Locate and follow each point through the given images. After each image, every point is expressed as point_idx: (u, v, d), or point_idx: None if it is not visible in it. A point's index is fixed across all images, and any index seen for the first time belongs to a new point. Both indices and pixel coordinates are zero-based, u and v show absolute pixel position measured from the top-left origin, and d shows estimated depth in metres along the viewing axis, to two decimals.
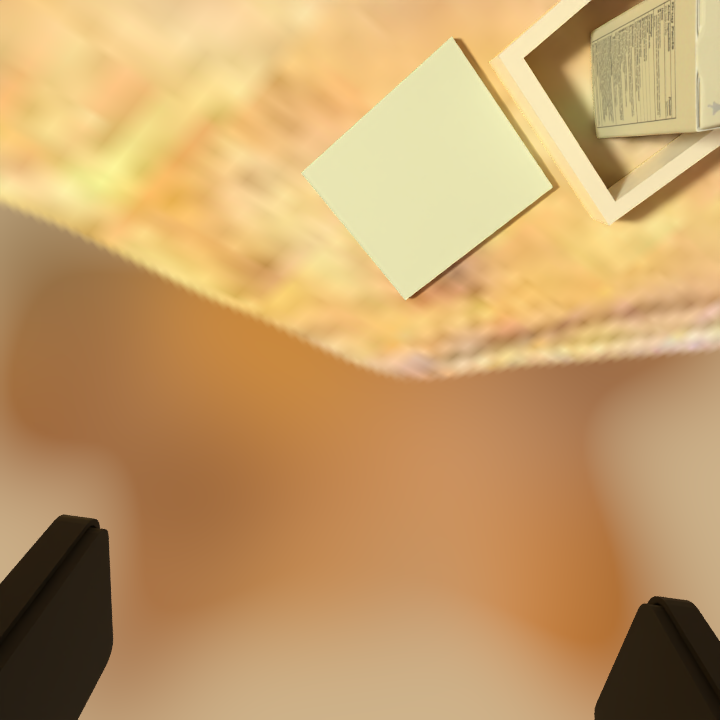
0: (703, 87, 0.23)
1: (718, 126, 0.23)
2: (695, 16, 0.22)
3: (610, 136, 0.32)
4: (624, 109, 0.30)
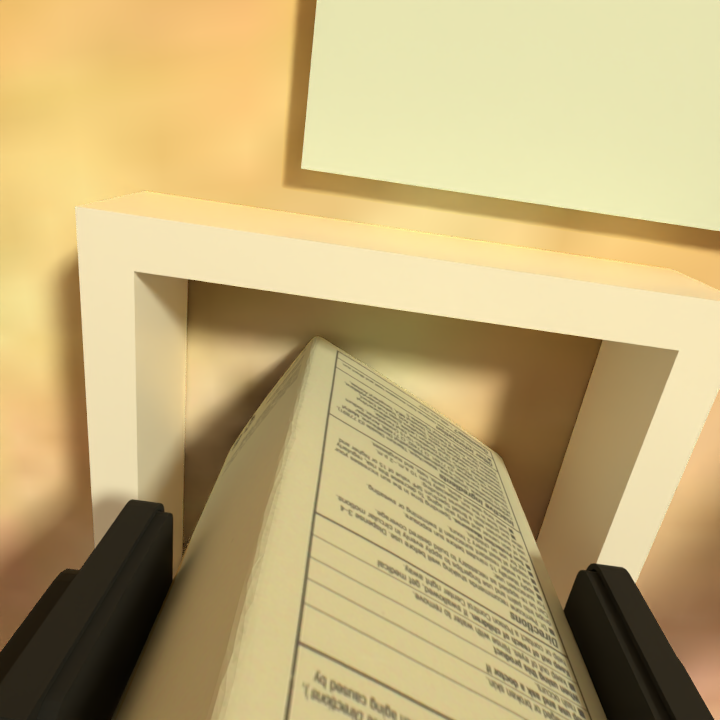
0: None
1: None
2: None
3: (307, 374, 0.11)
4: (361, 474, 0.09)
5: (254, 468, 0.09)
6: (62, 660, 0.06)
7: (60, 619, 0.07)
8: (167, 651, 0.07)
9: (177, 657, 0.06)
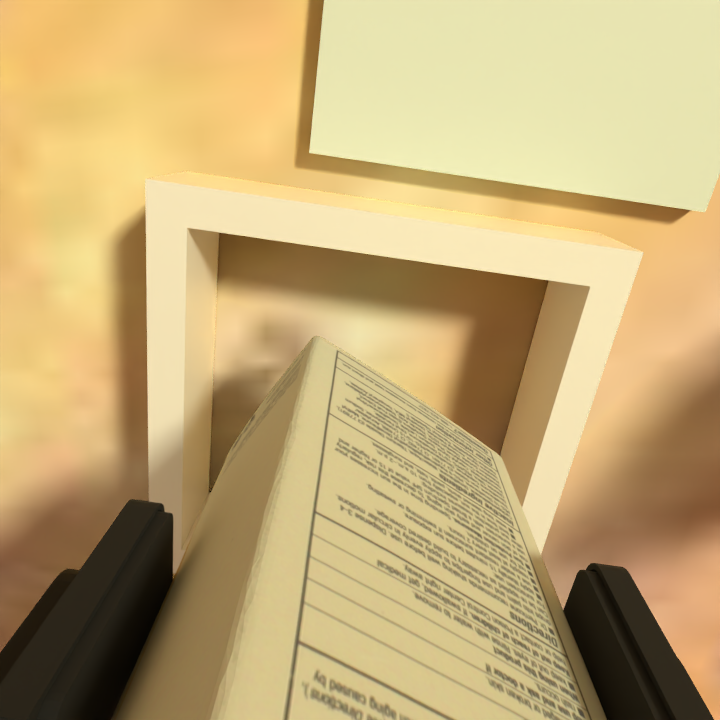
0: None
1: None
2: None
3: (307, 374, 0.11)
4: (360, 473, 0.09)
5: (254, 468, 0.09)
6: (63, 660, 0.06)
7: (60, 619, 0.07)
8: (167, 650, 0.07)
9: (177, 656, 0.06)
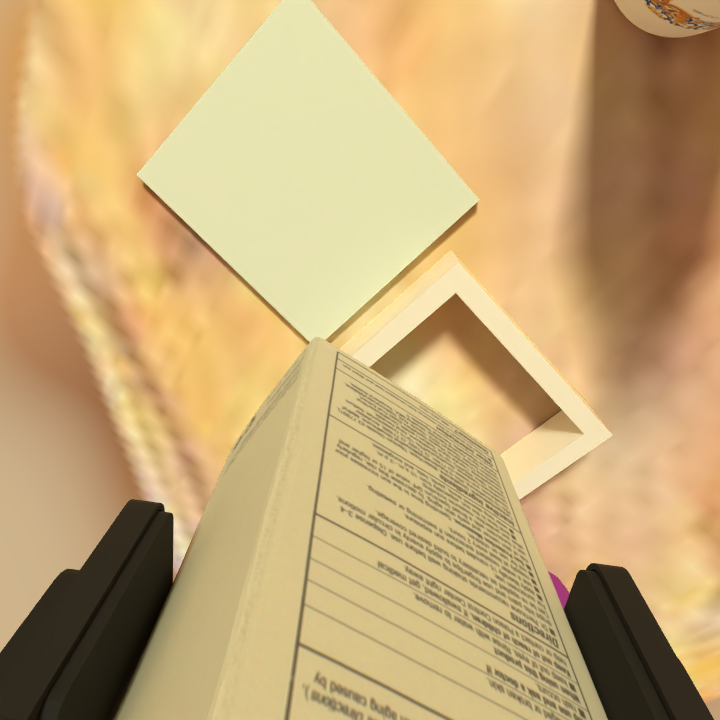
0: None
1: None
2: None
3: (307, 375, 0.11)
4: (361, 475, 0.09)
5: (254, 469, 0.09)
6: (63, 660, 0.06)
7: (60, 619, 0.07)
8: (168, 652, 0.07)
9: (178, 658, 0.06)
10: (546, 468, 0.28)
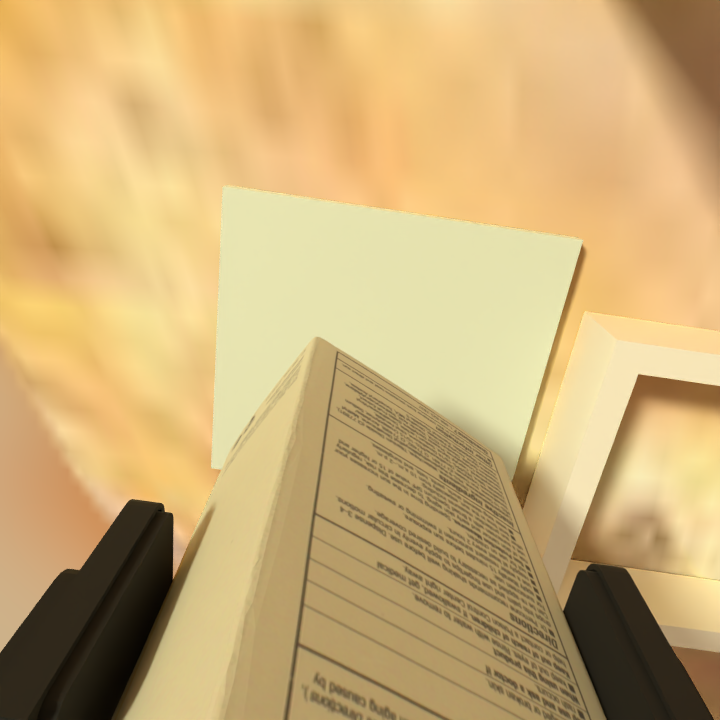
0: None
1: None
2: None
3: (307, 375, 0.11)
4: (360, 475, 0.09)
5: (254, 469, 0.09)
6: (63, 660, 0.06)
7: (60, 619, 0.07)
8: (166, 652, 0.07)
9: (176, 658, 0.06)
10: None
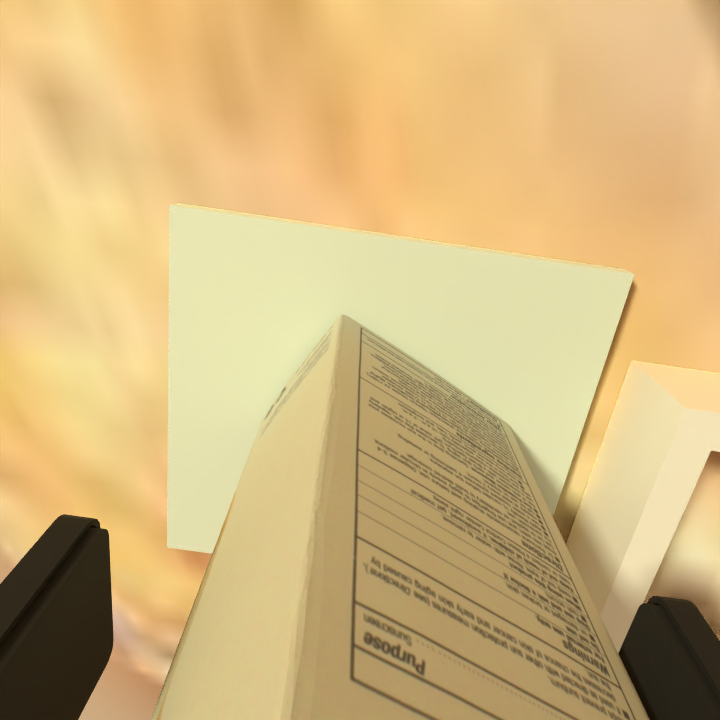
0: None
1: None
2: None
3: (338, 345, 0.12)
4: (391, 425, 0.10)
5: (297, 422, 0.11)
6: None
7: None
8: (238, 561, 0.08)
9: (251, 559, 0.08)
10: None
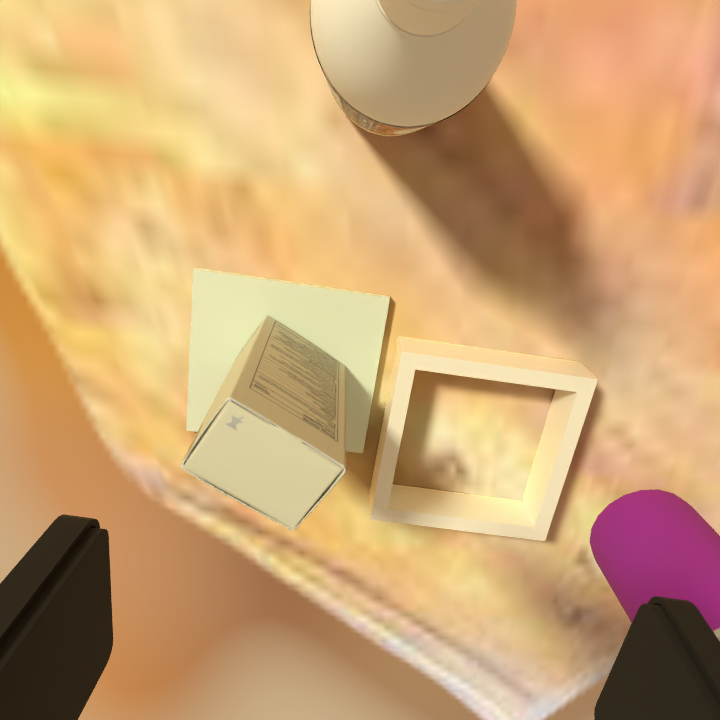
0: (260, 422, 0.23)
1: (218, 412, 0.23)
2: (317, 448, 0.24)
3: (262, 326, 0.32)
4: (277, 352, 0.30)
5: (244, 352, 0.30)
6: None
7: None
8: (224, 387, 0.27)
9: (228, 383, 0.27)
10: (571, 430, 0.34)
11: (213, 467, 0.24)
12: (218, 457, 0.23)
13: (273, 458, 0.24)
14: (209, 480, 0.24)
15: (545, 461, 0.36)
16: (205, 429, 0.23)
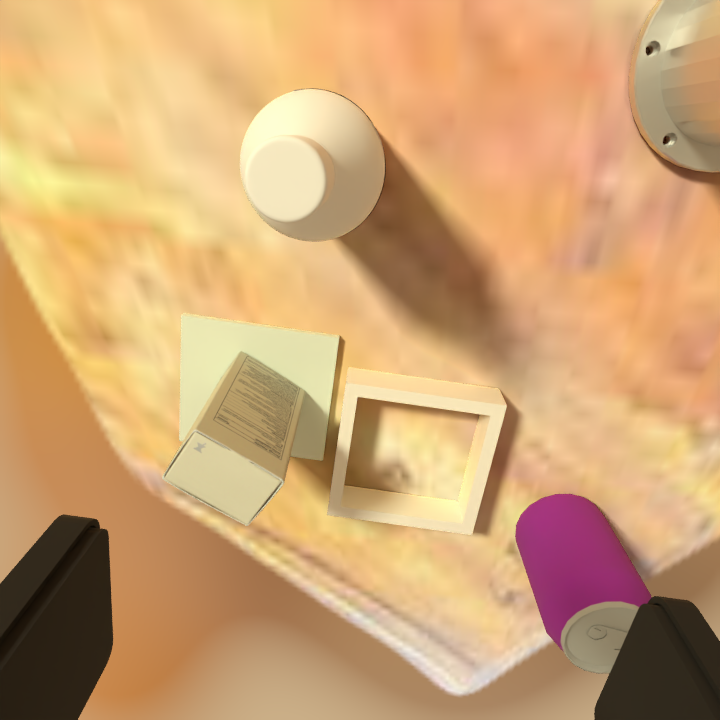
0: (218, 447, 0.31)
1: (188, 440, 0.31)
2: (261, 466, 0.32)
3: (234, 362, 0.40)
4: (243, 386, 0.38)
5: (218, 385, 0.38)
6: None
7: None
8: (199, 415, 0.36)
9: (201, 412, 0.35)
10: (487, 446, 0.42)
11: (185, 479, 0.32)
12: (189, 471, 0.32)
13: (229, 473, 0.32)
14: (183, 488, 0.32)
15: (471, 470, 0.44)
16: (179, 451, 0.31)
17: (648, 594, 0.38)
